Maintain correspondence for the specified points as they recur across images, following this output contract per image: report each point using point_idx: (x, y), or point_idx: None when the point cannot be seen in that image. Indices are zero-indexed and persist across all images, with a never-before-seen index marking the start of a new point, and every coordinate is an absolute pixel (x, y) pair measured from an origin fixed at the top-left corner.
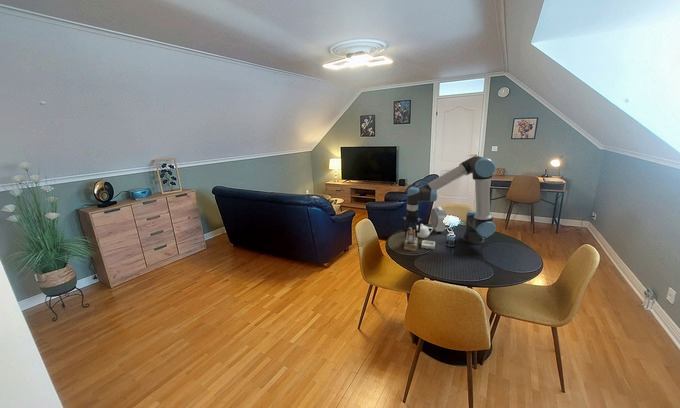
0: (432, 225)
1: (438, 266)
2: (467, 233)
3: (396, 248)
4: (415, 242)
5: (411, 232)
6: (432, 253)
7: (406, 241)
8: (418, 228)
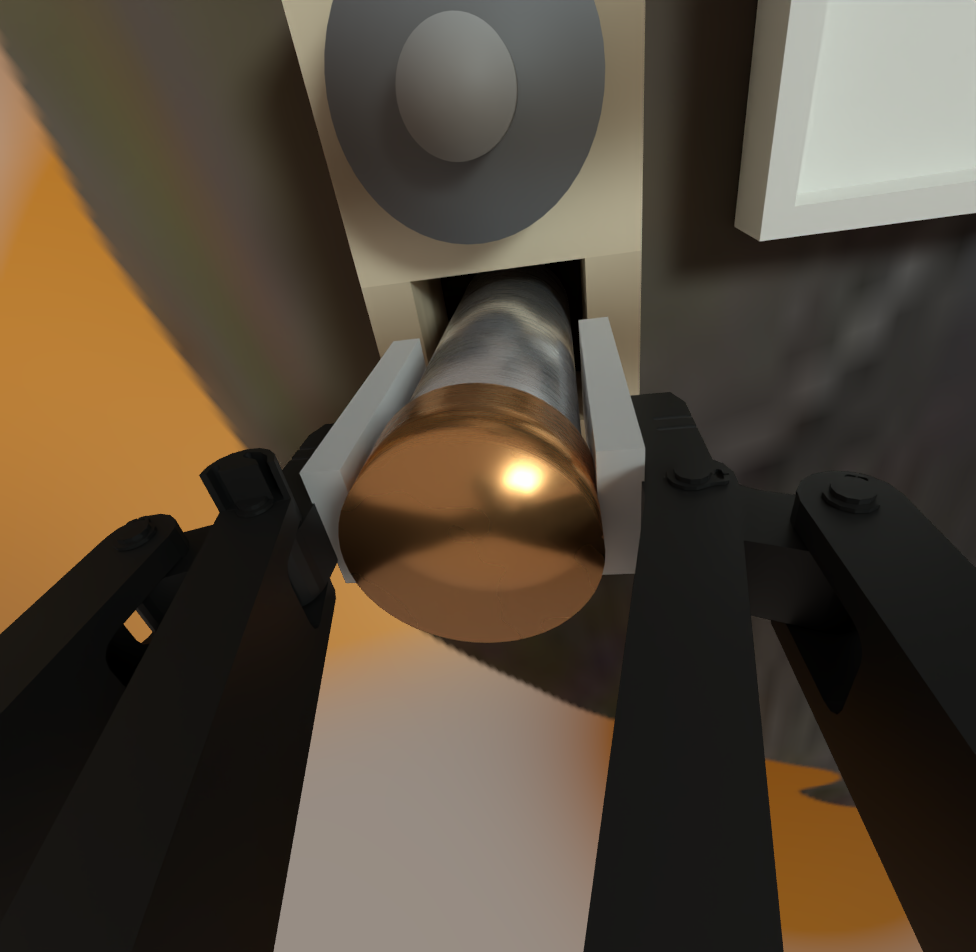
0: None
1: None
2: None
3: (316, 428)
4: (613, 288)
5: (511, 633)
6: (944, 383)
7: (398, 319)
8: (876, 800)
